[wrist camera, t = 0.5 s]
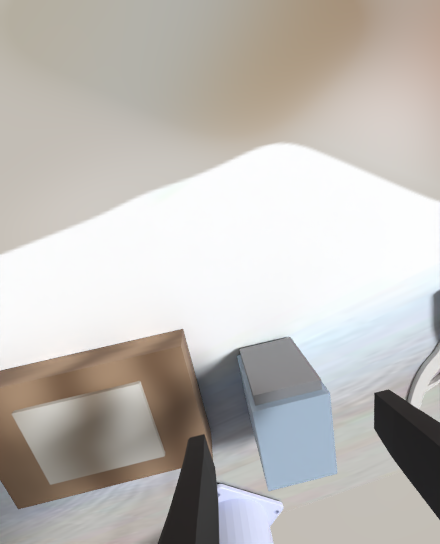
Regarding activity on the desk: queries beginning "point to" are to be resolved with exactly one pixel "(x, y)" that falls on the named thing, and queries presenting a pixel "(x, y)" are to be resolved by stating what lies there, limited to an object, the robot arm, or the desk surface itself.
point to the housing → (288, 413)
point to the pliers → (425, 378)
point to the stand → (98, 418)
